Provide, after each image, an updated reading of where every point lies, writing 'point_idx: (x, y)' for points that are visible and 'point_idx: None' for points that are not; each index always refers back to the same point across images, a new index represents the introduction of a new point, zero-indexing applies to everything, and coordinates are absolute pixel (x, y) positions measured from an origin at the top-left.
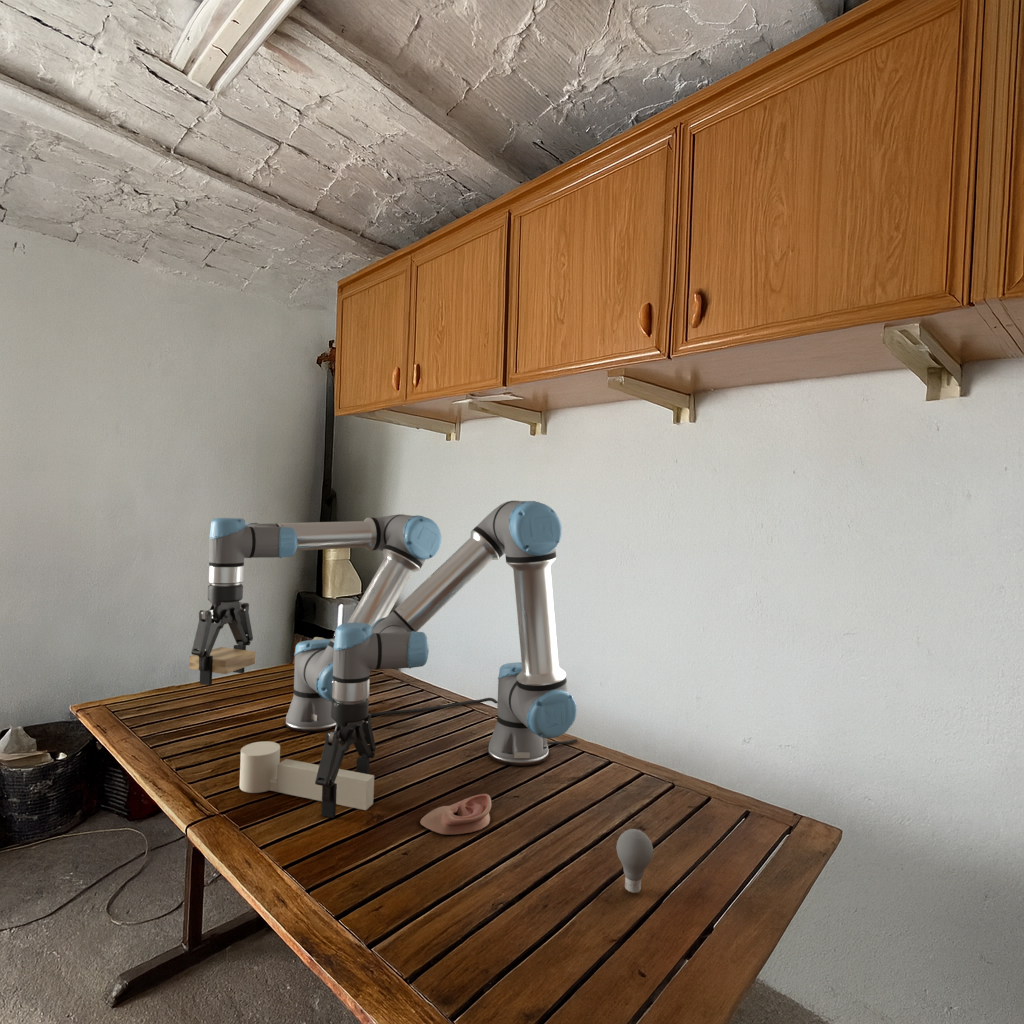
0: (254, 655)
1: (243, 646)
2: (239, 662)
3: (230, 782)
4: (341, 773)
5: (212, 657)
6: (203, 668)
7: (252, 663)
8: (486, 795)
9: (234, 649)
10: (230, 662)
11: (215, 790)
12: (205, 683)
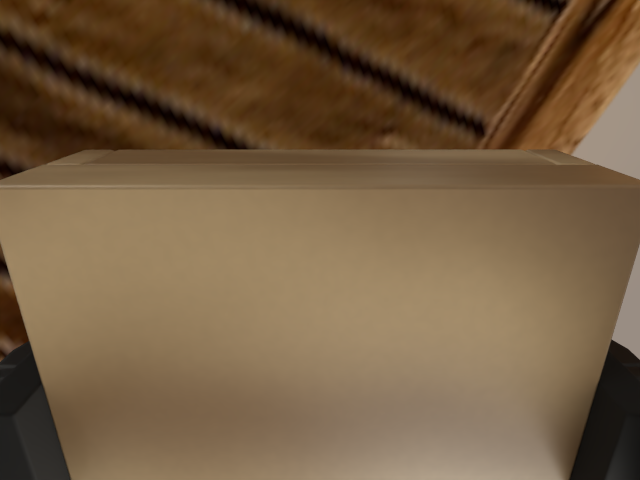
0: (42, 171)
1: (5, 413)
2: (351, 163)
3: (445, 10)
4: None
5: (616, 399)
6: (628, 357)
7: (125, 150)
8: None
9: (98, 460)
10: (534, 175)
11: (509, 15)
12: None
